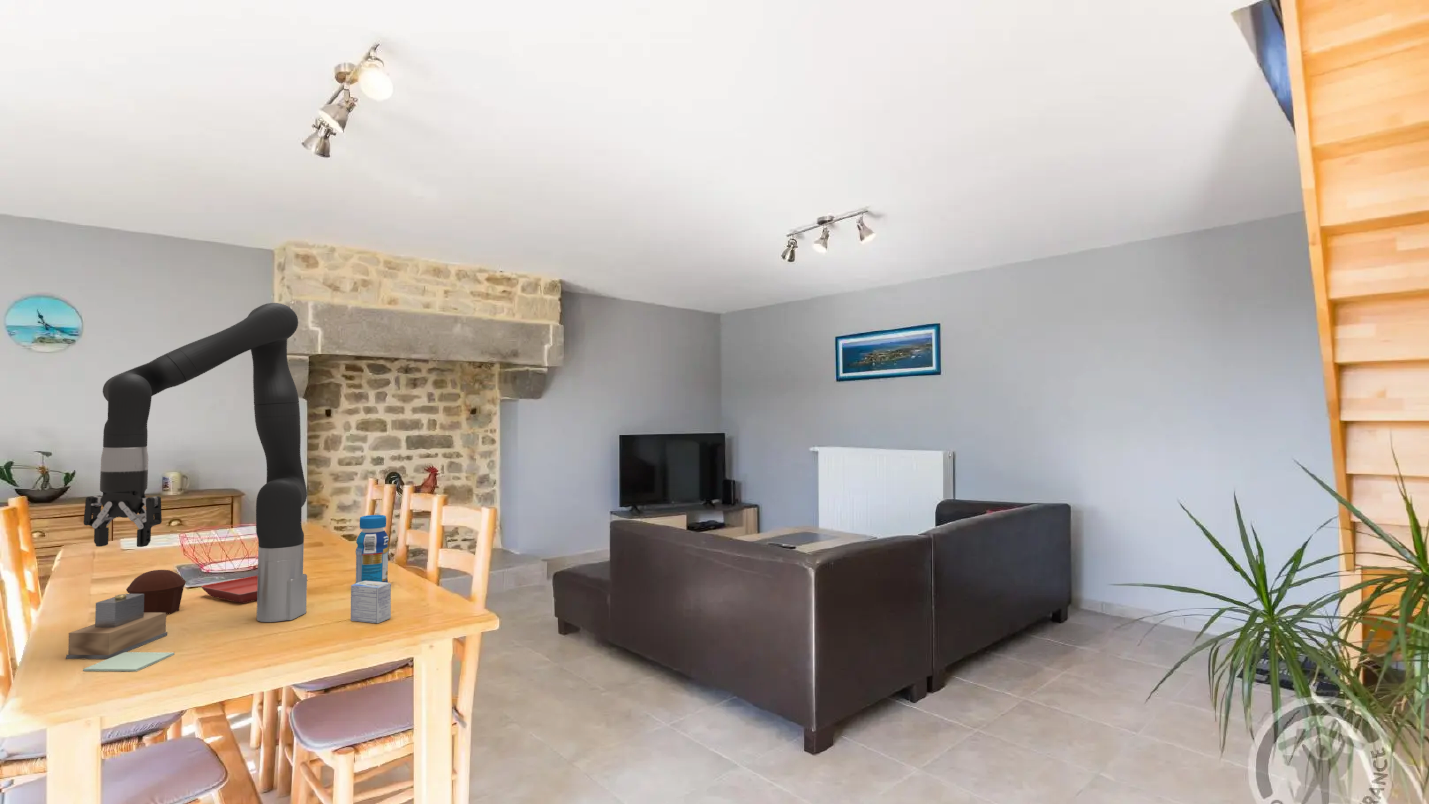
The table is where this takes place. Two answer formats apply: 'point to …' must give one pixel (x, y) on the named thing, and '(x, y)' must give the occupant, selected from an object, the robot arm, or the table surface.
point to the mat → (129, 661)
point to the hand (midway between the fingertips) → (122, 546)
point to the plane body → (115, 637)
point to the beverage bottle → (372, 550)
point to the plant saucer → (234, 589)
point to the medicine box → (370, 601)
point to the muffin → (159, 590)
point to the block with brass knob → (119, 610)
